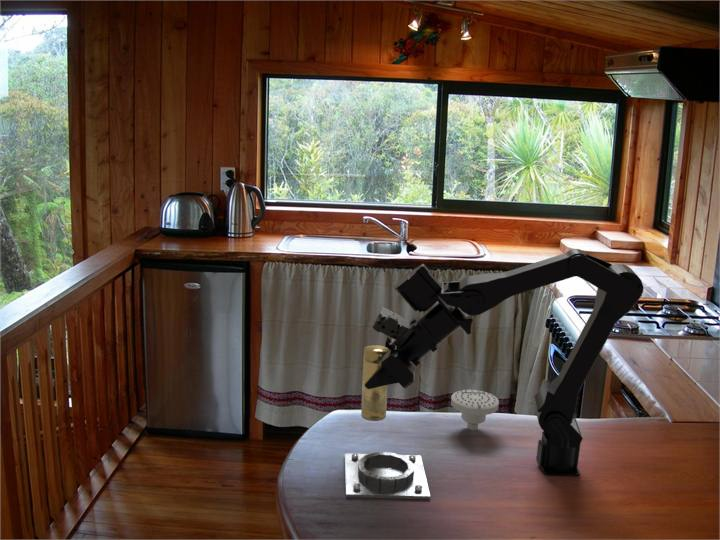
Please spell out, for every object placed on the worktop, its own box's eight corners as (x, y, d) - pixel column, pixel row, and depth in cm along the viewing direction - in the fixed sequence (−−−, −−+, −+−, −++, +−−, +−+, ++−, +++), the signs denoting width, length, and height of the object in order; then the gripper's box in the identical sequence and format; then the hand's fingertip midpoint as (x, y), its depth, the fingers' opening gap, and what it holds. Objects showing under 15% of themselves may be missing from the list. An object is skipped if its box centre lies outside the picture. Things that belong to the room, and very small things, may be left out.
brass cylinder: (384, 410, 144) (388, 345, 141) (386, 421, 140) (390, 354, 137) (360, 410, 144) (363, 344, 141) (361, 420, 140) (364, 353, 136)
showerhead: (456, 404, 147) (448, 384, 157) (453, 439, 149) (446, 416, 159) (504, 406, 148) (494, 385, 157) (501, 440, 149) (491, 418, 159)
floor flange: (420, 458, 141) (421, 447, 140) (430, 499, 127) (430, 487, 127) (344, 456, 140) (345, 445, 140) (346, 497, 127) (346, 485, 126)
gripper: (404, 283, 145) (345, 333, 149) (397, 311, 127) (329, 368, 131) (443, 325, 146) (383, 374, 150) (442, 360, 128) (373, 415, 132)
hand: (367, 381), depth 141 cm, fingers closed on brass cylinder, 5 cm apart
